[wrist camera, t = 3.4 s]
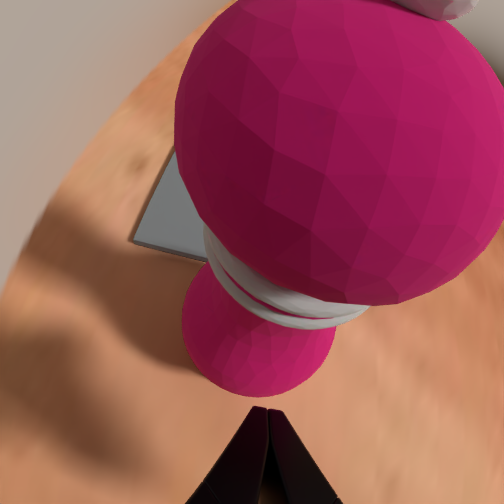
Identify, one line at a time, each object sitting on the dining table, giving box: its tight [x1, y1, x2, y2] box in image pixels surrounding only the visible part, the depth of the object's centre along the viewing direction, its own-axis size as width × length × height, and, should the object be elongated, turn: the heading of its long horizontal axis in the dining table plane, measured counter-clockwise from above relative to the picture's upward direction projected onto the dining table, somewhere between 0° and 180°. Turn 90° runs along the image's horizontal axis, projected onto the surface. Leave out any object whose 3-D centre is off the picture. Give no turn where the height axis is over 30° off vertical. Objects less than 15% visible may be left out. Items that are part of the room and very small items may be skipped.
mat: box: [133, 152, 208, 262], centre depth 26 cm, size 22×18×1 cm
